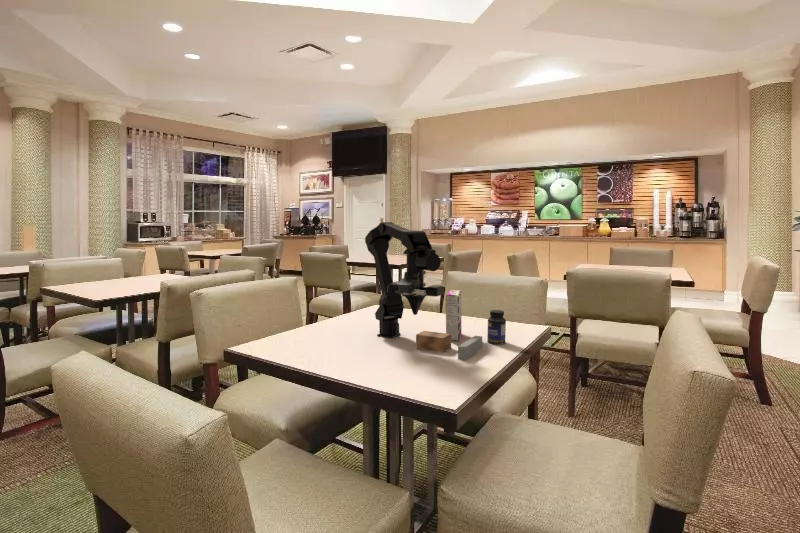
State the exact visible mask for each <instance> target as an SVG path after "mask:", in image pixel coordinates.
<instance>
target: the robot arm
mask: <svg viewBox="0 0 800 533" xmlns="http://www.w3.org/2000/svg"><path fill="white" fill-rule="evenodd" d="M392 239H396V240H398V241H400V243H401V245H402V246H404V248H406V249H405V250H403V255H406V271H404V275H403V278H401V279H400V280H399V281H398V282H397V281H396V282H393V276H392V272H391V267H390V264H389V258H388V250H389V248H390V241H391V240H392ZM429 240H430V239H429V238H428V236H427V233H426V231H424V230H418V229H415V230H413V229H411V230H410V229H408V228H405V227H403V226H400V225H398V224H394V222H392V221H382V222H380V223H379V224H378V225H377V226H376V227H374V228H372V229H371V230H369V232H368V233H367V234H366V236H365V238H364V243H365V245H366V248H367V250H368V252H369V253H370V254H371V256H372V257H373V260H374V263H375V268H376V273H377V278H378V283H379V288H380V292H381V295H380V297H379V300H378V305H379V306H378V308H377V310H376V312H375V313H374V317H375V320H378V322H379V326H378V328H379V333H378V334H377V337H381V338H382V337H383V338H391V339H393V338H395V337H397V336H399V335H401V332H400V323H399V319H400V320H401V319H402V318H403V314H404V308H405V307H404V301H403V298H402V297H405V298H406V299H407V301H408V303H409V306H410V308H411V313H412V315H413V316H416V315H417V314H418V312H419V310H420V308H421V305H422V303H423V301H424V300H425V297H427V296H428V297H439V296H443V295H444V293H445V289H444V286H442V285H434V284H432V285H428V286H426V282H425V281H424V280H425V279H424V276H425V275H426V271H429V272H436V271H438V270H439V269H440V267H441V262H442V261H441V259H440V256H439V255H438V254H437V253H436V249H433V247H432V244H431V242H430V241H429ZM397 291H398V292H397Z"/></svg>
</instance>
